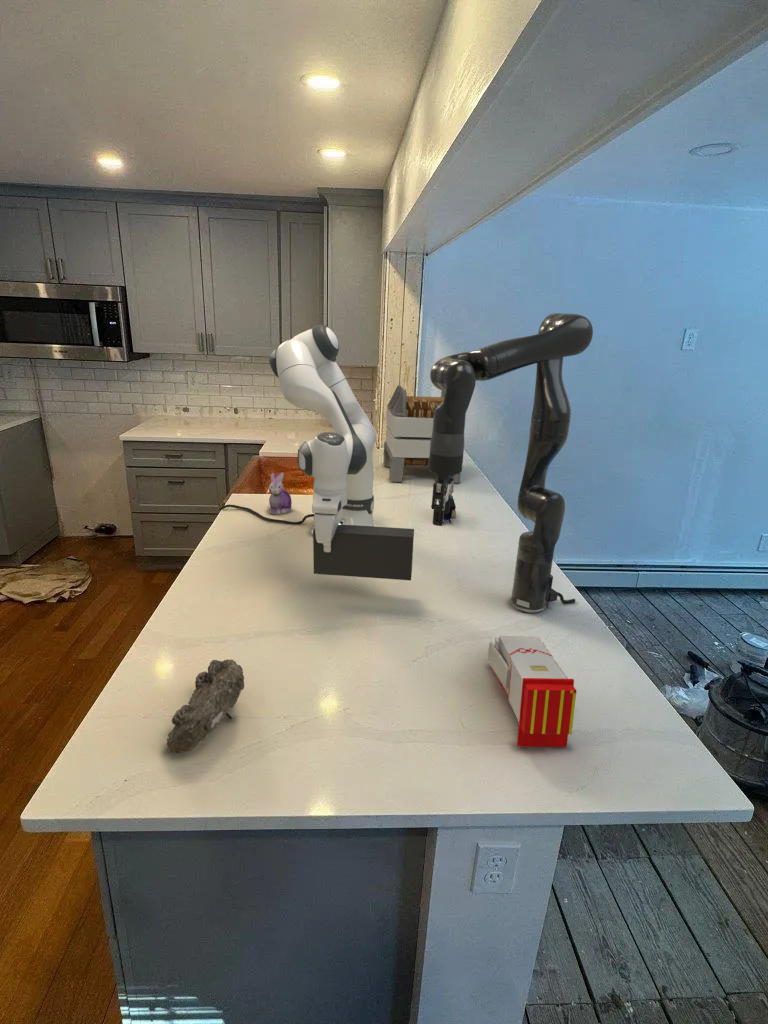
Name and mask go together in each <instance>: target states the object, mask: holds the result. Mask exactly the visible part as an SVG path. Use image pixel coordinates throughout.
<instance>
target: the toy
mask: <svg viewBox="0 0 768 1024" xmlns="http://www.w3.org/2000/svg"><path fill="white" fill-rule="evenodd" d="M488 643H489V644H488V651H487V658H486V659H487V662H488V664H489V666H490V668H491V669H492V672H493V674H494V675H495V677H496V679H497V681H498V682H499V684H500V687H501V688H502V691H503V692H504V694H505V697H507V699H508V702H509V705H510V706H511V709H512V710H513V713H514V714H515V717H516V720H517V721H518V728H517V729H518V730H517V741H516V746H517V747H520V748H521V747H522V748H523V747H525V748H527V747H529V748H531V747H532V748H533V747H534V748H545V747H546V748H567V747H568V740H569V735H572V733H573V725H574V716H575V708H576V700H577V689H576V687H575V686H574V685H575V679H574V678H569V677H568V676H567V675H566V673H565V672H564V670H563V669H562V668H561V667H560V665H559V663H558V662H557V661H556V659H555V658H554V656H553V654H552V653H551V652H550V650H549V649H548V648H547V646H546V644H545V642H544V641H543V640H542V639H541V638H540V636H534V635H533V636H532V635H530V636H527V635H526V636H525V635H524V636H523V635H498V637H497V636H496V637H494V643H493V641H489V642H488Z"/></svg>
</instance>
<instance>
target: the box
mask: <svg viewBox="0 0 768 1024" xmlns="http://www.w3.org/2000/svg"><path fill="white" fill-rule="evenodd" d="M414 537H415V528H408V527H407V528H403V527H389V526H375V525H374V526H359V525H342V524H338V527H337V529H336V531H335V534H334V536H333V538H332V541H331V551H330V552H324V545H323V543H318V542H317V540H316V535H315V528H314V530H313V535H312V539H313V540H312V547H313V548H312V550H313V551H312V552H313V554H312V555H313V556H312V557H313V559H312V560H313V561H312V562H313V565H312V566H313V575H325V576H337V577H338V576H339V577H340V576H341V577H353V578H354V577H355V578H368V579H369V578H370V579H383V580H384V579H385V580H397V581H412V575H413V574H412V573H413V558H414V557H413V556H414V555H413V554H414V539H415V538H414Z"/></svg>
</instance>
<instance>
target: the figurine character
mask: <svg viewBox="0 0 768 1024" xmlns="http://www.w3.org/2000/svg"><path fill="white" fill-rule="evenodd" d="M449 499H450V510H449V513H448V514H444V516H443V524H444V522H447V521H448V523H449V524H452V520H453V521H454V520H455V521H456V518H457V510H456V509H457V507H456V503H455V500H454V495H452V497H451V498H449ZM437 502H438V504H439V505H440V502H441V501H439V500H438V501H437Z"/></svg>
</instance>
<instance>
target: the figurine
mask: <svg viewBox="0 0 768 1024" xmlns="http://www.w3.org/2000/svg"><path fill="white" fill-rule="evenodd" d="M284 476H285V475H284V472H283V471H281V472H280V473H279V474H278V475H276V474H275V473H274V472H272V473H271V474H270V484H269V486H268V492H269V493H270V495H269V498H268V504H269V507H270V508H269V513H270V514H271V515H281V514H286V513H289V512H291V510H292V503H293V501H292V496H291V494H290V493H289V492H288V491H287V490H285V487H284V484H283V479H284Z"/></svg>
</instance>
